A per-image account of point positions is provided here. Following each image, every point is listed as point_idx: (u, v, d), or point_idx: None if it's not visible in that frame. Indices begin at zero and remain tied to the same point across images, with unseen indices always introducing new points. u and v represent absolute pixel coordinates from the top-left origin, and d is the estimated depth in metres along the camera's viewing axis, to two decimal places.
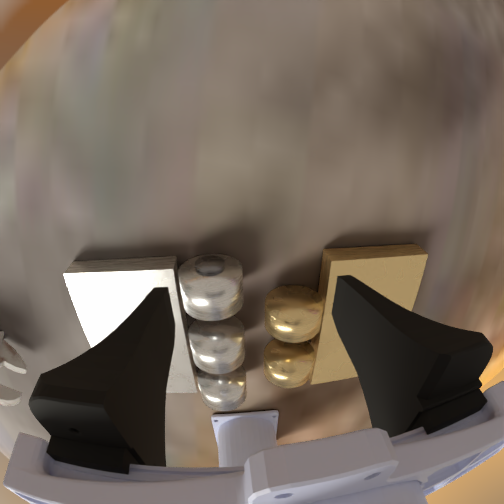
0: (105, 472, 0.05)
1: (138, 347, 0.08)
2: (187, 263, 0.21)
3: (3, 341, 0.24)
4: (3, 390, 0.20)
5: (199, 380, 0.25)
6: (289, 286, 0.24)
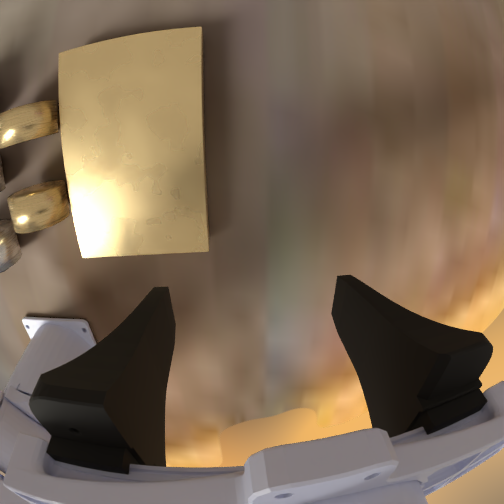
0: (105, 472, 0.05)
1: (138, 347, 0.08)
2: None
3: None
4: None
5: None
6: None
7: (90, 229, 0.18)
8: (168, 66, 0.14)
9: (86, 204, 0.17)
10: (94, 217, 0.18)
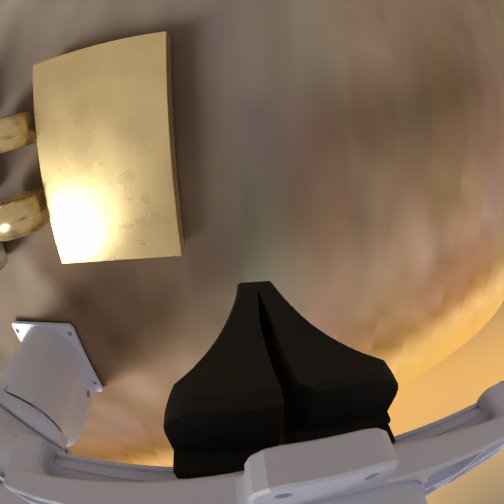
0: None
1: (264, 342, 0.08)
2: None
3: None
4: None
5: None
6: None
7: (68, 236, 0.18)
8: (134, 73, 0.14)
9: (63, 211, 0.17)
10: (71, 224, 0.17)
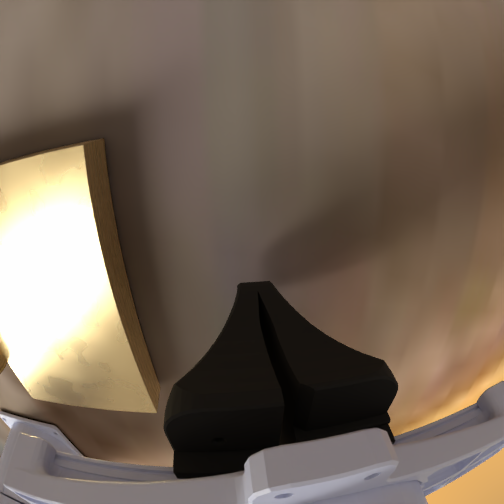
0: None
1: (264, 342, 0.08)
2: None
3: None
4: None
5: None
6: None
7: (30, 380, 0.13)
8: (51, 217, 0.09)
9: (18, 360, 0.12)
10: (30, 372, 0.13)
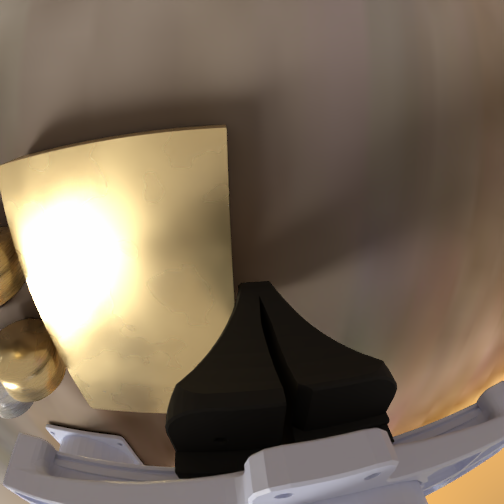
0: None
1: (265, 342, 0.08)
2: None
3: None
4: None
5: None
6: None
7: (95, 389, 0.13)
8: (172, 204, 0.10)
9: (85, 368, 0.13)
10: (98, 380, 0.13)
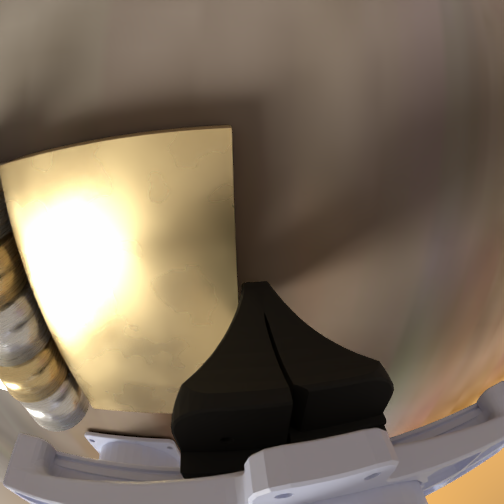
0: None
1: (270, 341, 0.08)
2: None
3: None
4: None
5: None
6: None
7: (98, 389, 0.13)
8: (177, 204, 0.10)
9: (87, 368, 0.13)
10: (100, 380, 0.13)
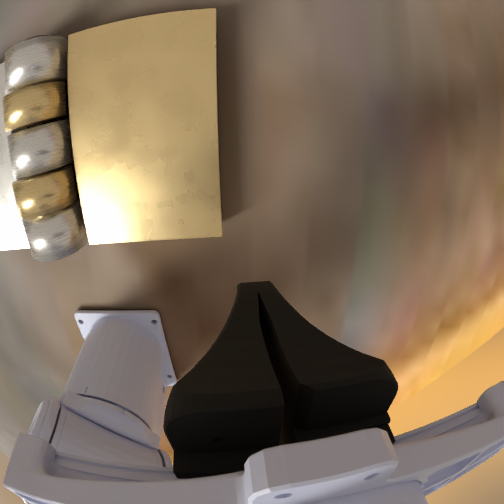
0: None
1: (264, 342, 0.08)
2: None
3: None
4: None
5: None
6: None
7: (98, 214, 0.17)
8: (182, 46, 0.13)
9: (94, 188, 0.17)
10: (103, 201, 0.17)
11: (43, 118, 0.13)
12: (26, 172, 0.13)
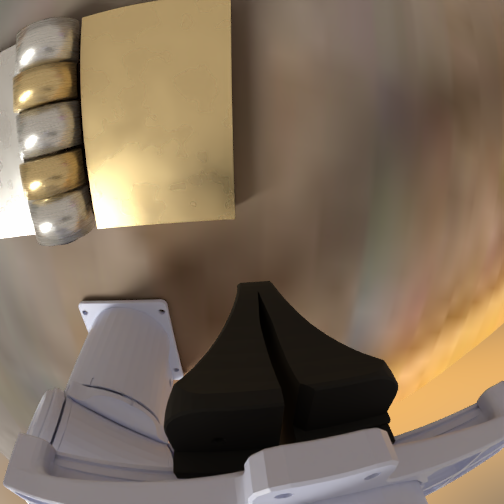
0: None
1: (264, 342, 0.08)
2: None
3: None
4: None
5: None
6: None
7: (108, 196, 0.17)
8: (197, 30, 0.13)
9: (105, 169, 0.16)
10: (113, 183, 0.17)
11: (55, 97, 0.12)
12: (35, 152, 0.13)
